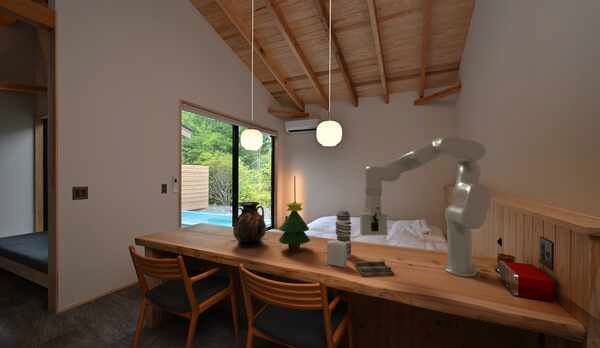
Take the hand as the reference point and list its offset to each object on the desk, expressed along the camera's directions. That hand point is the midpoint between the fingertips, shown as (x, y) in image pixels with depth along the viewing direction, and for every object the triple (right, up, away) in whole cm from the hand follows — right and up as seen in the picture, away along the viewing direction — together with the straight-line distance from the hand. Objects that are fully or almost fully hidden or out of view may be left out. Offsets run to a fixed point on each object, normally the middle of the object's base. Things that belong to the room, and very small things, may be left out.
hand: (373, 229), depth 111 cm
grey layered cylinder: (-10, -20, +21) cm, 31 cm away
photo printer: (-16, -20, +7) cm, 27 cm away
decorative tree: (-39, -20, +31) cm, 54 cm away
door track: (0, -20, 0) cm, 20 cm away
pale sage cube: (0, -2, 0) cm, 2 cm away
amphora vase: (-68, -20, +41) cm, 83 cm away
